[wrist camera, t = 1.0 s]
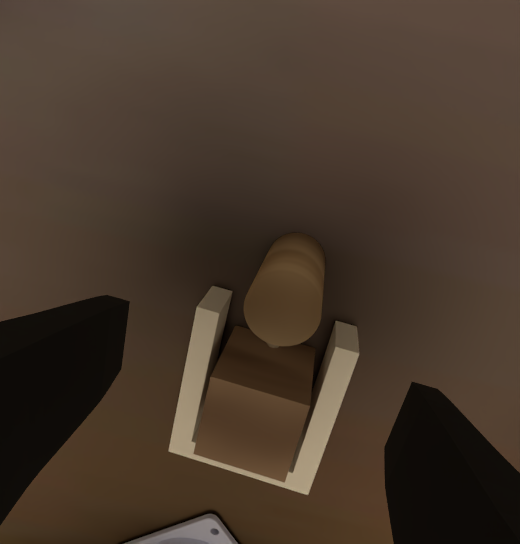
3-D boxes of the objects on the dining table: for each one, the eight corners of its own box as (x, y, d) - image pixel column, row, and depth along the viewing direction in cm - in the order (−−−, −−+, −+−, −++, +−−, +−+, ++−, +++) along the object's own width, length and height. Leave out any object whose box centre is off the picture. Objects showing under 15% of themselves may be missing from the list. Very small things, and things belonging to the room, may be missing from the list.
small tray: (310, 457, 23) (307, 495, 21) (184, 418, 23) (168, 451, 21) (356, 326, 20) (359, 353, 18) (212, 285, 21) (196, 306, 18)
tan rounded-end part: (294, 414, 22) (281, 502, 17) (219, 391, 23) (185, 471, 17) (348, 245, 19) (352, 292, 14) (259, 221, 19) (232, 259, 14)
